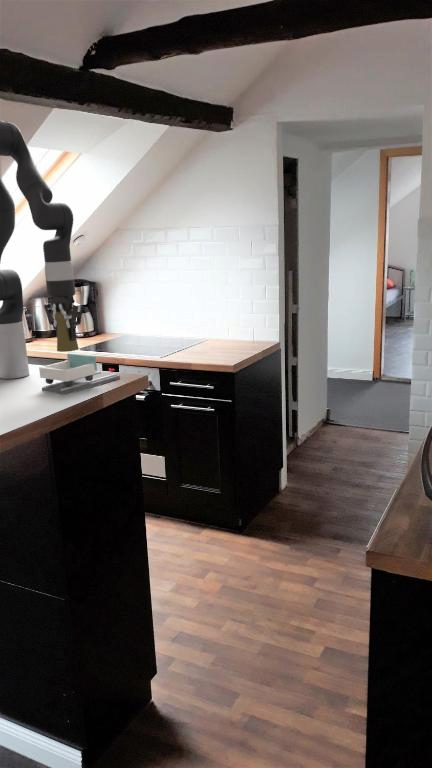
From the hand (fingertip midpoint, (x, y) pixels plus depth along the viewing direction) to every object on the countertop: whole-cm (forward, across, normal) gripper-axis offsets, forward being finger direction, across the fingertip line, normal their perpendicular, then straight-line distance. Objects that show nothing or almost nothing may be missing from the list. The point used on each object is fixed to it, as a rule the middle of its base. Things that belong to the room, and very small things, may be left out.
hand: (66, 339), depth 169 cm
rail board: (+14, 0, -4) cm, 14 cm away
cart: (+12, 0, +1) cm, 12 cm away
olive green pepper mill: (+3, 0, 0) cm, 3 cm away
